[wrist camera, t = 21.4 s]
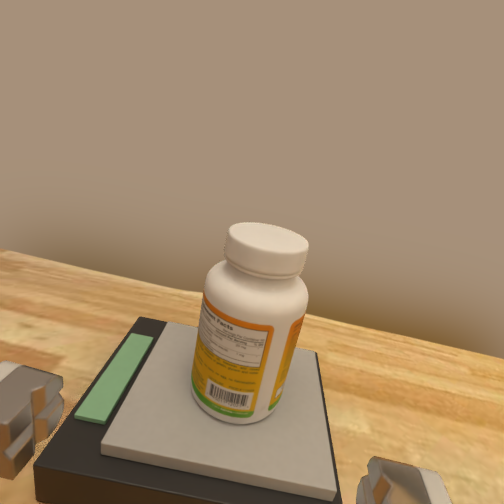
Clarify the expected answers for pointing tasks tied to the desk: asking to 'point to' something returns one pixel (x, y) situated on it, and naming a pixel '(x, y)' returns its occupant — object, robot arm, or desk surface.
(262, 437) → the scale
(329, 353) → the desk surface
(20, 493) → the desk surface
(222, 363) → the supplement bottle
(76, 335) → the desk surface
